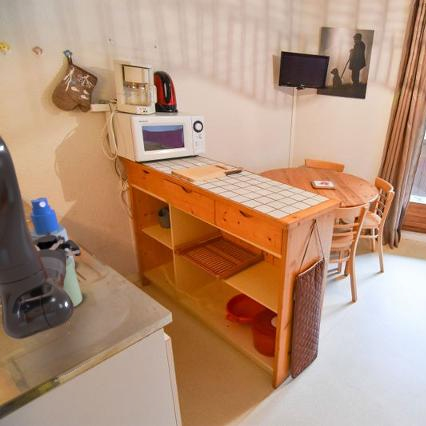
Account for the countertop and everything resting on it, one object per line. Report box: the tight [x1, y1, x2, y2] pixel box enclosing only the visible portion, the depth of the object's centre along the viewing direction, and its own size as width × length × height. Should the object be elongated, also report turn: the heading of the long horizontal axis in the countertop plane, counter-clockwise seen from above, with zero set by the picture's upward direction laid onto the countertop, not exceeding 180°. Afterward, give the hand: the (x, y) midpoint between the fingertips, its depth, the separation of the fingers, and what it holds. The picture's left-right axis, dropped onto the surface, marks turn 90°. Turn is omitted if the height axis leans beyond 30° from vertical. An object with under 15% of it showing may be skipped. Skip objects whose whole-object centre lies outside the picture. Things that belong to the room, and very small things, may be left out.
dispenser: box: [64, 258, 83, 308], centre depth 89 cm, size 8×8×15 cm
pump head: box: [37, 231, 57, 250], centre depth 86 cm, size 7×4×4 cm, turn 35°
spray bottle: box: [29, 197, 76, 268], centre depth 101 cm, size 9×9×25 cm
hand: (49, 240), depth 86 cm, fingers closed on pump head, 4 cm apart
